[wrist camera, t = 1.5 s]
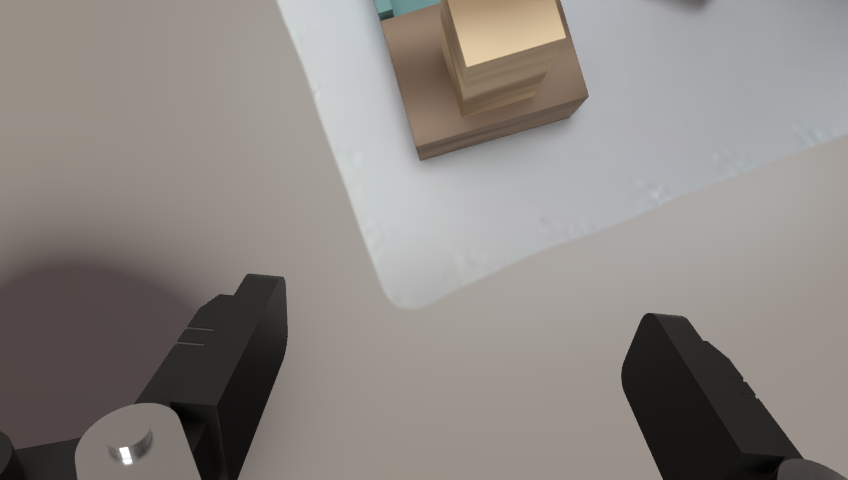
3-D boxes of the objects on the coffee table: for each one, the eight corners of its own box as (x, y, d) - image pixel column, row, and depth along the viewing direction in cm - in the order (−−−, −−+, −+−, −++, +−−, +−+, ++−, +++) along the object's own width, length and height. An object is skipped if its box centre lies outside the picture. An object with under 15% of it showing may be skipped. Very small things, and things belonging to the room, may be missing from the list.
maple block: (533, 96, 33) (566, 37, 24) (461, 117, 33) (466, 67, 24) (512, 26, 33) (537, -60, 24) (441, 47, 33) (438, -29, 24)
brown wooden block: (570, 116, 37) (588, 96, 32) (420, 160, 38) (416, 146, 33) (537, 6, 38) (550, -31, 33) (389, 51, 38) (380, 21, 33)
